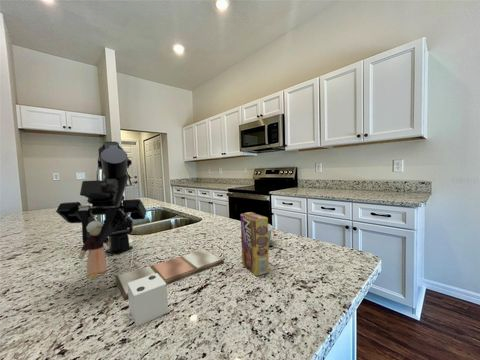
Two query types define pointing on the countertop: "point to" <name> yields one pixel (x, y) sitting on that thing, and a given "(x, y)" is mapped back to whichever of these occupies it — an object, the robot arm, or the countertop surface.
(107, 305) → the countertop surface
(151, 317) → the white die
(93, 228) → the grandmother figurine
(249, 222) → the candy box
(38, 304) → the countertop surface
